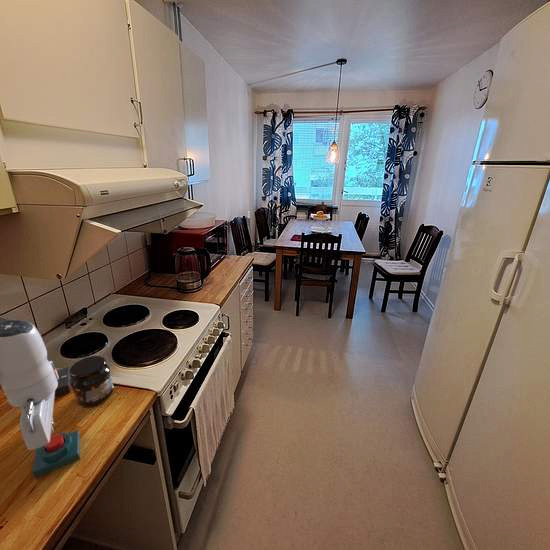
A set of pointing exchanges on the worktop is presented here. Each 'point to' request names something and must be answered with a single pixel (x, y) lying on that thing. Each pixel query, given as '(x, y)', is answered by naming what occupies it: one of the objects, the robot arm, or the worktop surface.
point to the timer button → (55, 443)
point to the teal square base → (57, 455)
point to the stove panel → (63, 382)
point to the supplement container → (91, 381)
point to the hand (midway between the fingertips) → (49, 430)
